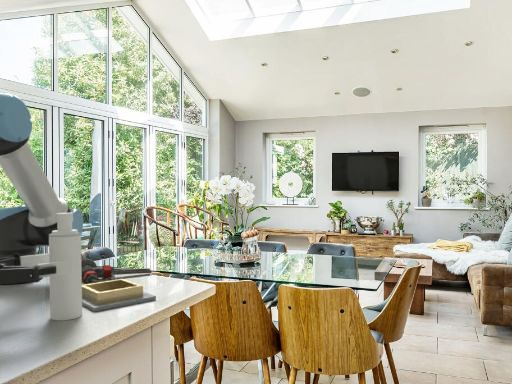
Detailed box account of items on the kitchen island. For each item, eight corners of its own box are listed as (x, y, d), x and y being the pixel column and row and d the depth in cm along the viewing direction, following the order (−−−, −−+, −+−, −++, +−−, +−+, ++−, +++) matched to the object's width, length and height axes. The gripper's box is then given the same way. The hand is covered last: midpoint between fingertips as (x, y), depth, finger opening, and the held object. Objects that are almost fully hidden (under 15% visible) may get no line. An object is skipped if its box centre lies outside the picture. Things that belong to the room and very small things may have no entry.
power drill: (68, 296, 131) (63, 279, 144) (157, 289, 143) (145, 274, 156) (70, 275, 130) (64, 259, 143) (159, 270, 142) (146, 256, 156)
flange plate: (67, 297, 120) (67, 284, 120) (125, 288, 131) (124, 276, 131) (94, 312, 107) (94, 297, 107) (155, 300, 117) (155, 286, 117)
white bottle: (87, 312, 107) (85, 205, 106) (72, 321, 100) (70, 206, 99) (60, 311, 107) (58, 205, 107) (44, 320, 101) (41, 206, 100)
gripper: (-62, 285, 98) (43, 271, 112) (-44, 308, 79) (80, 289, 93) (-63, 250, 98) (43, 241, 112) (-45, 265, 79) (80, 252, 93)
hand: (60, 262), depth 102 cm, fingers open, 13 cm apart
